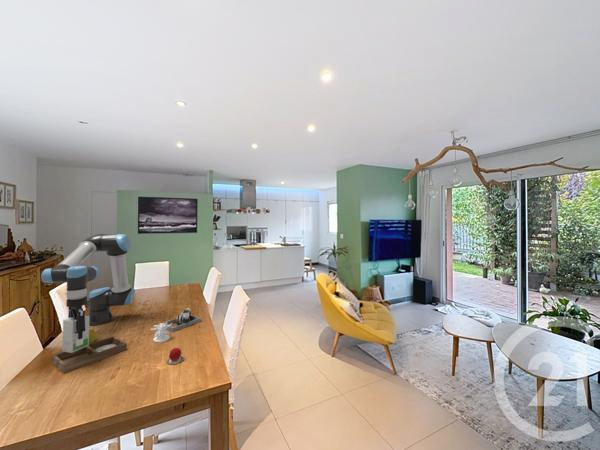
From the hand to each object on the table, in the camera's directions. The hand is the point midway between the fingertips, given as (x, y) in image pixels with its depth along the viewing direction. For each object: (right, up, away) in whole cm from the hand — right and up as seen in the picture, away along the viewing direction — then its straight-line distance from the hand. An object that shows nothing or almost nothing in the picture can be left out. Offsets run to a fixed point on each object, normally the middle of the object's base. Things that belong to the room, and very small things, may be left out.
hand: (76, 342), depth 124 cm
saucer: (+6, -9, +11) cm, 16 cm away
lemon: (-11, -10, +20) cm, 25 cm away
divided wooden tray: (+3, -10, +5) cm, 12 cm away
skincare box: (0, -3, 0) cm, 3 cm away
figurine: (+28, -11, +27) cm, 40 cm away
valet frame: (+29, -11, +49) cm, 58 cm away
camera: (+30, -11, +52) cm, 61 cm away
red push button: (+48, -11, +4) cm, 49 cm away
